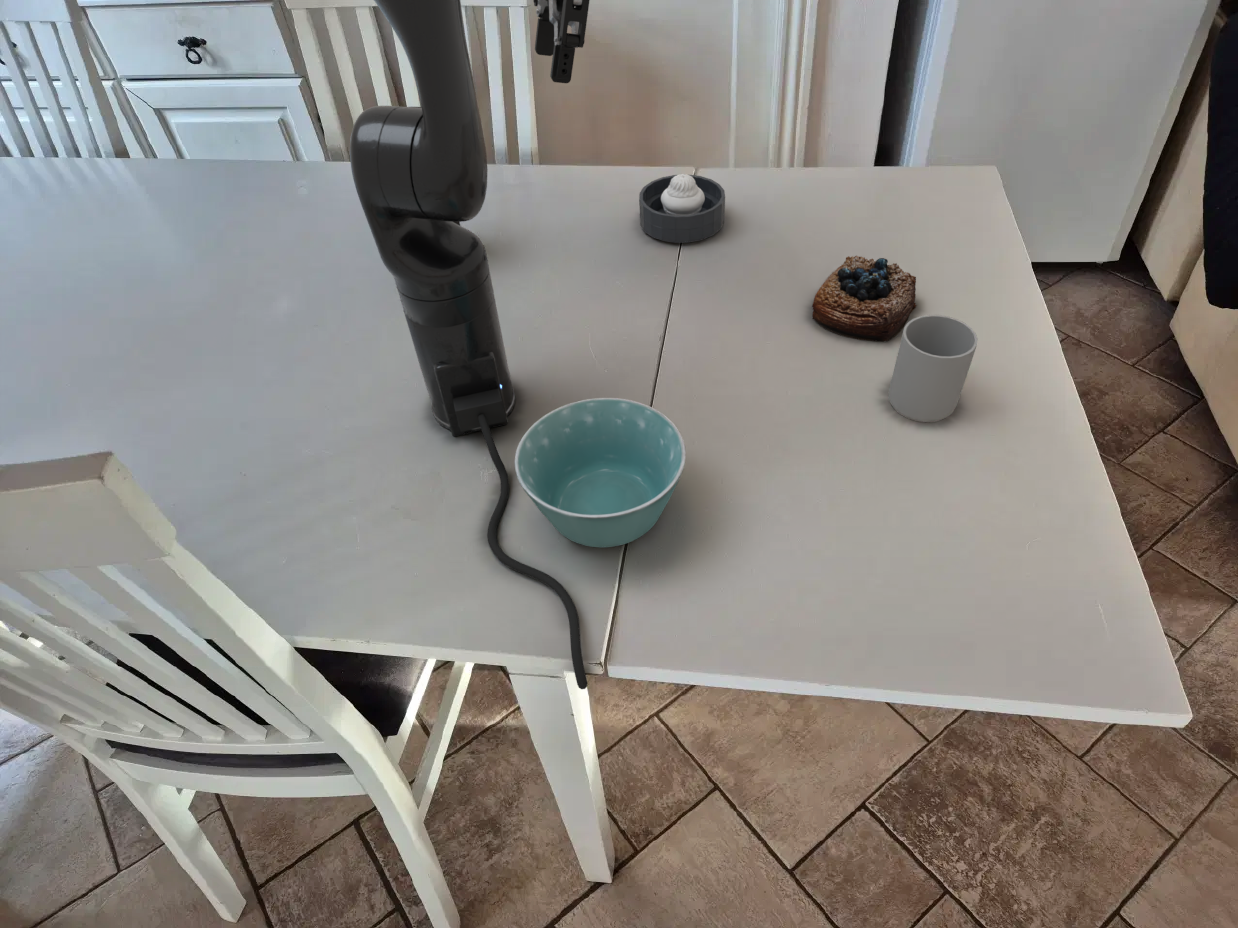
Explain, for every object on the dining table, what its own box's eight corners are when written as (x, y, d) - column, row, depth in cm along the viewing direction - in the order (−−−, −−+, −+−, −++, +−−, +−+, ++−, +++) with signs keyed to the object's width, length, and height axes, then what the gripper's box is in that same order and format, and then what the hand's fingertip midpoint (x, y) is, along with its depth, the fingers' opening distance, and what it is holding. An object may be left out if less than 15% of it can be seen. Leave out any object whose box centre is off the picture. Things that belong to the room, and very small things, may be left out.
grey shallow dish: (736, 236, 114) (737, 207, 111) (655, 253, 112) (654, 223, 109) (706, 197, 122) (707, 168, 119) (630, 212, 120) (629, 183, 117)
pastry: (923, 299, 102) (934, 258, 97) (888, 351, 95) (898, 310, 91) (840, 275, 106) (847, 235, 102) (801, 323, 100) (806, 283, 95)
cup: (879, 412, 88) (895, 347, 82) (903, 359, 94) (919, 294, 87) (947, 431, 85) (969, 365, 79) (967, 375, 91) (989, 310, 85)
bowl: (508, 480, 84) (495, 422, 78) (649, 437, 87) (647, 378, 81) (553, 597, 74) (542, 540, 68) (711, 543, 77) (714, 484, 71)
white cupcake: (658, 231, 115) (657, 185, 110) (663, 209, 119) (663, 164, 114) (702, 233, 114) (703, 186, 109) (706, 210, 119) (707, 165, 113)
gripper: (522, -121, 86) (508, 43, 97) (552, -89, 76) (532, 88, 87) (590, -109, 88) (568, 50, 99) (627, -77, 79) (598, 95, 90)
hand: (551, 67), depth 93 cm, fingers open, 8 cm apart
